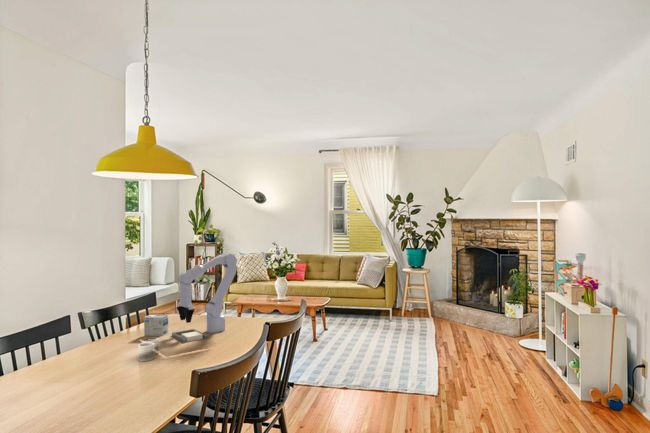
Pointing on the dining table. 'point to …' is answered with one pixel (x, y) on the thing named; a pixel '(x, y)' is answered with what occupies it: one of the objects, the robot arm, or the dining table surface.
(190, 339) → the cover plate
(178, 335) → the open box
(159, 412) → the dining table surface
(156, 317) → the light bulb box
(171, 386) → the dining table surface
